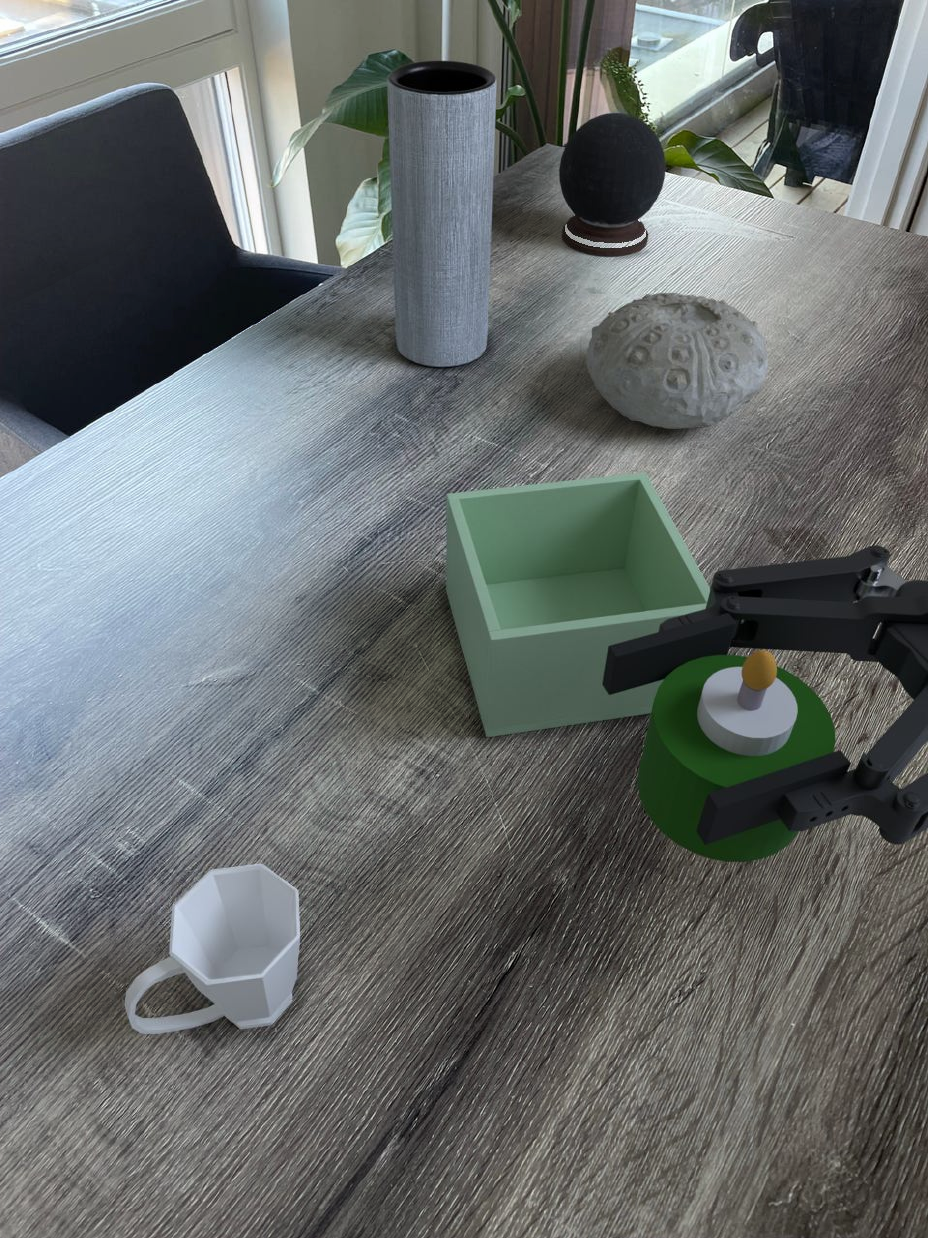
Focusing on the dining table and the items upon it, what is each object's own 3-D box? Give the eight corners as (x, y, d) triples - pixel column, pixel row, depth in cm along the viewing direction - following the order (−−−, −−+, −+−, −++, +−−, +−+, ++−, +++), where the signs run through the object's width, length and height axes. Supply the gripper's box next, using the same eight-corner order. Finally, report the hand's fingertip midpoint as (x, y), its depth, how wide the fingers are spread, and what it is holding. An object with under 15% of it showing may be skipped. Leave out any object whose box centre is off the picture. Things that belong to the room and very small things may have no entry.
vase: (468, 317, 114) (473, 55, 96) (500, 359, 108) (513, 86, 89) (384, 331, 112) (373, 64, 93) (413, 375, 105) (406, 97, 86)
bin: (695, 707, 73) (722, 609, 66) (486, 737, 70) (491, 640, 63) (629, 567, 84) (645, 471, 77) (446, 590, 81) (446, 493, 74)
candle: (669, 704, 54) (703, 565, 47) (822, 763, 51) (882, 625, 44) (612, 818, 49) (640, 680, 42) (779, 890, 46) (839, 756, 39)
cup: (338, 1013, 56) (327, 942, 50) (166, 1109, 52) (132, 1044, 47) (287, 915, 60) (271, 840, 55) (124, 997, 56) (89, 925, 51)
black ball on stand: (603, 209, 137) (616, 90, 127) (676, 241, 130) (696, 118, 120) (533, 234, 131) (540, 111, 120) (605, 269, 124) (620, 142, 113)
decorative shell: (562, 364, 107) (570, 274, 100) (717, 349, 110) (736, 261, 103) (613, 459, 95) (627, 365, 88) (787, 439, 98) (814, 347, 91)
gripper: (1186, 826, 46) (767, 992, 40) (893, 547, 60) (550, 640, 54) (1281, 721, 41) (815, 895, 35) (936, 443, 55) (561, 533, 49)
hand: (654, 740), depth 45 cm, fingers closed on candle, 8 cm apart
